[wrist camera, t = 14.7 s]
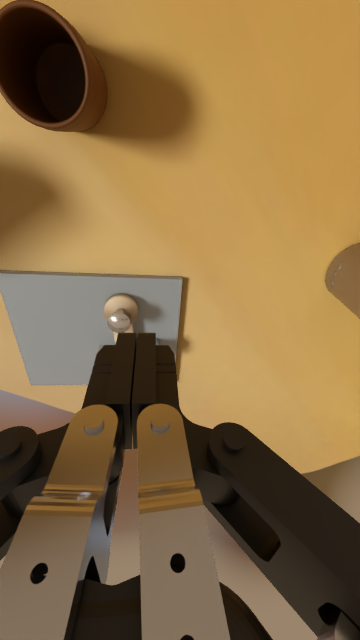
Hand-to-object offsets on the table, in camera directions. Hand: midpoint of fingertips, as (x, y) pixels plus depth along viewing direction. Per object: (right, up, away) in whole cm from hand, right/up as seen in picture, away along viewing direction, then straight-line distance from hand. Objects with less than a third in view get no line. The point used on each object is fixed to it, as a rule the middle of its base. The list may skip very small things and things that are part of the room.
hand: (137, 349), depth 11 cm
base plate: (-12, -1, +35) cm, 37 cm away
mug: (-11, +26, +17) cm, 33 cm away
